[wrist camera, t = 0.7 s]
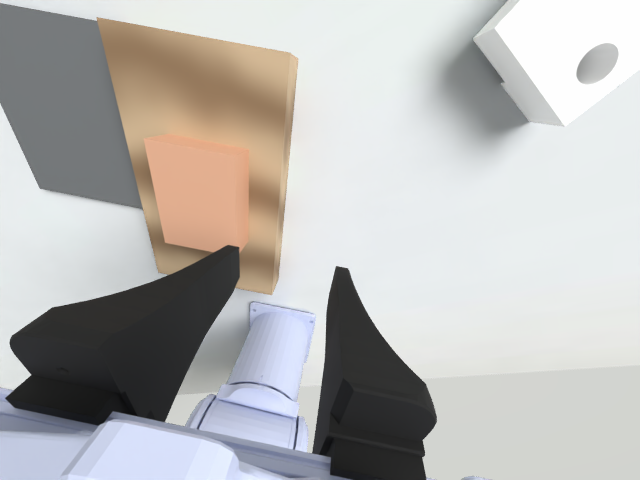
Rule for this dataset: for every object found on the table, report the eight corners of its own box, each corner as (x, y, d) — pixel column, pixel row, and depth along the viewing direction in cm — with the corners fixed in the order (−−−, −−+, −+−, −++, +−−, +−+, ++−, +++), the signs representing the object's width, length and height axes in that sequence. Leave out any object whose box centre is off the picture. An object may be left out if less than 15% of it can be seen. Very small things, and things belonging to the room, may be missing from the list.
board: (278, 279, 27) (271, 295, 25) (173, 258, 27) (158, 272, 25) (298, 58, 17) (290, 52, 14) (129, 27, 17) (96, 17, 15)
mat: (161, 209, 24) (158, 211, 24) (45, 186, 24) (39, 188, 24) (124, 27, 17) (118, 25, 16) (-41, -4, 17) (-51, -7, 17)
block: (248, 241, 22) (237, 257, 19) (183, 228, 22) (165, 242, 20) (248, 149, 18) (234, 156, 15) (168, 133, 18) (143, 138, 15)
